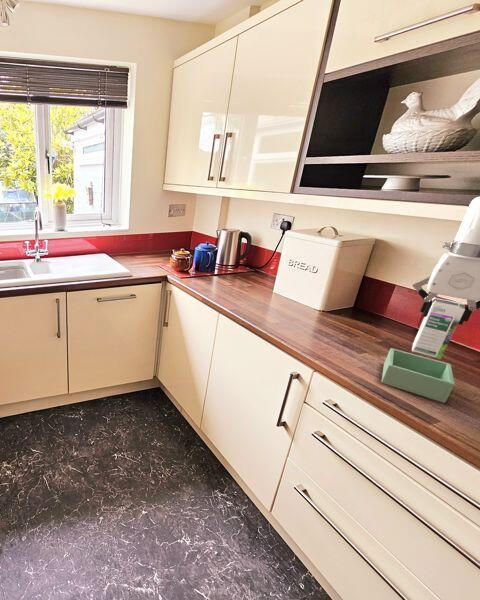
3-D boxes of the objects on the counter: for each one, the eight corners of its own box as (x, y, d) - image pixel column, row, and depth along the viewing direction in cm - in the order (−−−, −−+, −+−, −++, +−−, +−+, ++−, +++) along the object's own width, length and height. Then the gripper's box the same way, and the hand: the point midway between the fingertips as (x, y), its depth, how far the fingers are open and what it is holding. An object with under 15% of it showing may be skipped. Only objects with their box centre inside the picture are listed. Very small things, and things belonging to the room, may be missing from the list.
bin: (441, 381, 94) (450, 364, 92) (445, 403, 86) (454, 384, 84) (383, 364, 102) (390, 347, 100) (381, 382, 94) (388, 365, 91)
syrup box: (410, 351, 90) (433, 301, 85) (412, 343, 94) (433, 296, 88) (440, 359, 86) (466, 308, 81) (440, 351, 90) (465, 302, 85)
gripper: (423, 247, 82) (396, 313, 89) (534, 260, 72) (493, 335, 79) (423, 242, 87) (397, 305, 94) (526, 254, 77) (488, 324, 84)
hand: (441, 318), depth 86 cm, fingers closed on syrup box, 5 cm apart
